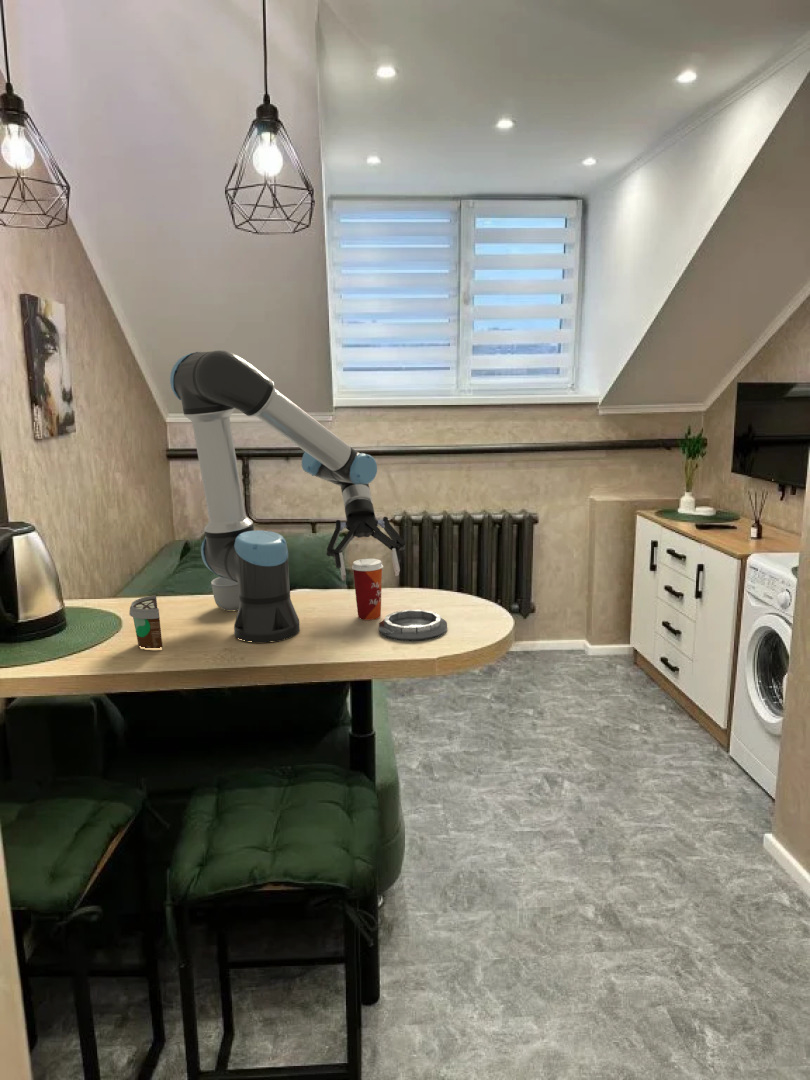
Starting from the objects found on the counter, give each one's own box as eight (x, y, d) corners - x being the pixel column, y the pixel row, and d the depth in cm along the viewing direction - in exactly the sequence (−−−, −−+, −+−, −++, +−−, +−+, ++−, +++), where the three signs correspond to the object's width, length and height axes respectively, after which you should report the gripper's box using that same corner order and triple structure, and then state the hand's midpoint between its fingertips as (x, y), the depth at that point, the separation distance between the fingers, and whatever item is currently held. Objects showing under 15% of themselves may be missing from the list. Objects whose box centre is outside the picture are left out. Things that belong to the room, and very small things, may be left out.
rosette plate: (373, 640, 169) (372, 629, 169) (384, 617, 185) (384, 607, 184) (444, 642, 167) (444, 630, 167) (449, 618, 183) (449, 608, 182)
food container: (132, 638, 175) (127, 597, 173) (160, 635, 177) (155, 594, 175) (133, 656, 164) (128, 612, 162) (163, 652, 166) (158, 609, 164)
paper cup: (381, 621, 182) (379, 565, 179) (350, 621, 183) (348, 565, 180) (387, 611, 190) (385, 557, 187) (357, 611, 191) (355, 557, 188)
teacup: (250, 613, 191) (248, 583, 190) (208, 614, 192) (205, 584, 190) (262, 597, 205) (260, 569, 203) (222, 598, 205) (220, 570, 203)
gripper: (402, 510, 204) (417, 578, 193) (310, 517, 199) (320, 587, 188) (406, 494, 198) (421, 563, 187) (311, 500, 193) (321, 572, 182)
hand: (371, 575), depth 188 cm, fingers open, 13 cm apart
